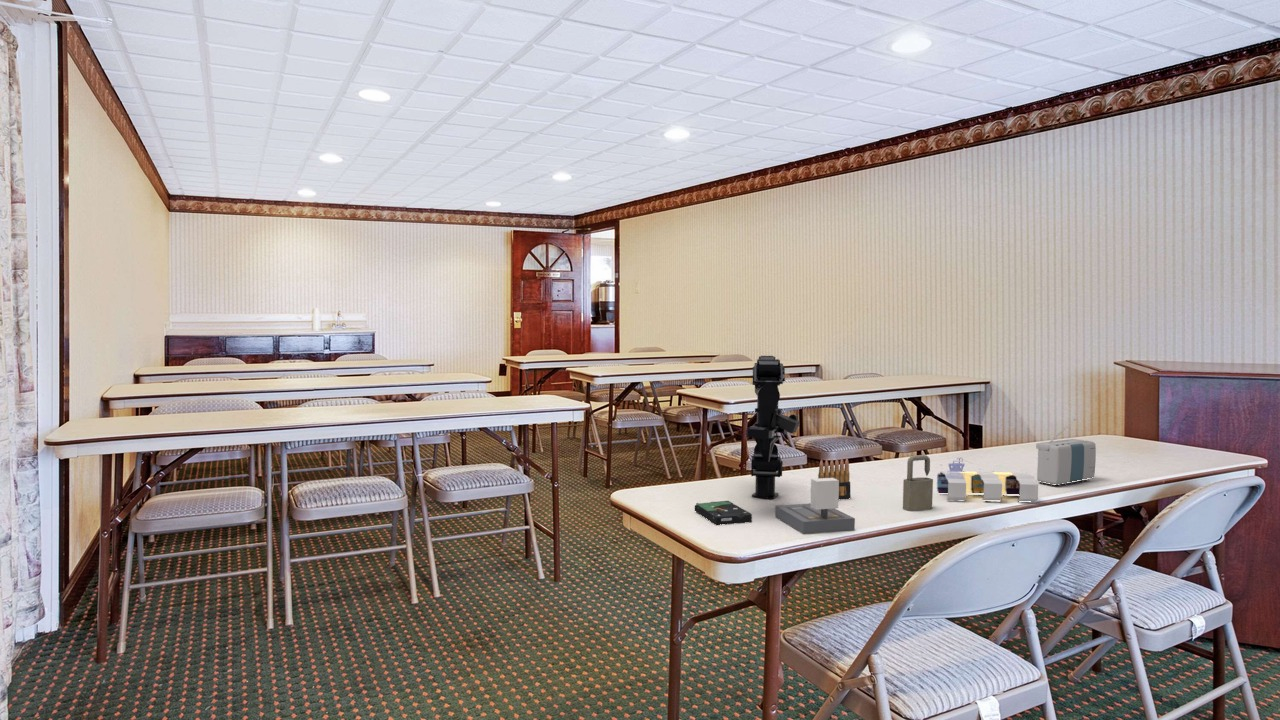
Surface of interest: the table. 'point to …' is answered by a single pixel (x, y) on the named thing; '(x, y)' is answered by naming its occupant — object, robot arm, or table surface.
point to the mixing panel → (814, 519)
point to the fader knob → (824, 494)
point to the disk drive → (723, 512)
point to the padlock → (917, 487)
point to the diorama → (985, 484)
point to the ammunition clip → (837, 476)
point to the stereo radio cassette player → (1065, 460)
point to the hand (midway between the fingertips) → (766, 461)
